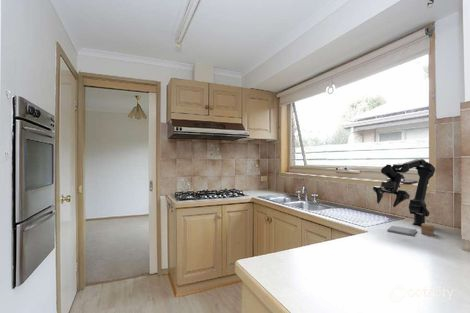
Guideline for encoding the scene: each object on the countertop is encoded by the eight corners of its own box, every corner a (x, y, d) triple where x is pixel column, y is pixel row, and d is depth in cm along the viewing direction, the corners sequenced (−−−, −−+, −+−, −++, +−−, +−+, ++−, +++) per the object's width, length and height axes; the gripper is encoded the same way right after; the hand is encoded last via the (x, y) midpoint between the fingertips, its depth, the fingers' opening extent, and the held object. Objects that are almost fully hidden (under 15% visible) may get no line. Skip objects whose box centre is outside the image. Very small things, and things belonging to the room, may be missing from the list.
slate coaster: (392, 227, 145) (392, 225, 145) (416, 231, 137) (416, 229, 137) (387, 231, 137) (387, 229, 137) (413, 236, 128) (413, 234, 128)
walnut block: (422, 231, 136) (422, 223, 136) (433, 233, 133) (433, 224, 133) (421, 233, 133) (421, 224, 133) (432, 235, 129) (432, 226, 129)
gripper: (372, 173, 149) (363, 196, 146) (405, 177, 132) (395, 203, 129) (381, 181, 154) (372, 203, 151) (413, 186, 137) (405, 211, 134)
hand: (385, 205), depth 141 cm, fingers open, 9 cm apart
